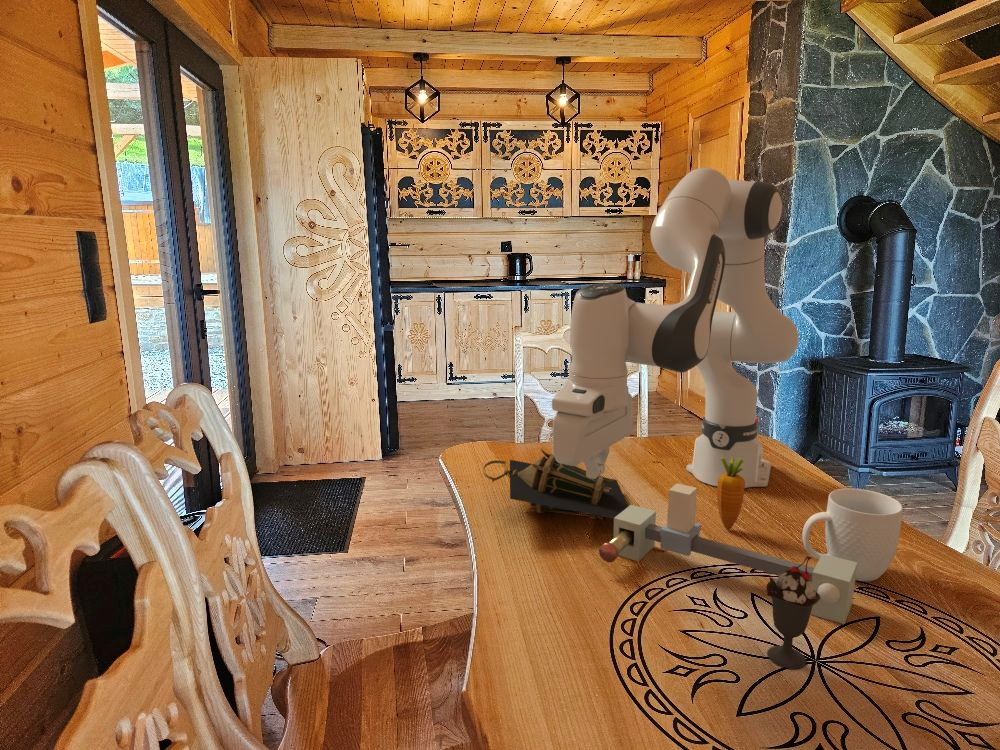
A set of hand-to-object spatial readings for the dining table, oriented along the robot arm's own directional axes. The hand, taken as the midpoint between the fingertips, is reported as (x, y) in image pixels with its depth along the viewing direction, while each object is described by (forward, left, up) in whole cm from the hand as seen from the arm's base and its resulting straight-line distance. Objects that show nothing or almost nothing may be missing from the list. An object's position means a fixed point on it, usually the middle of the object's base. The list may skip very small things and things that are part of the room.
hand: (595, 475), depth 105 cm
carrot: (-34, +12, -20) cm, 41 cm away
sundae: (+1, +30, -20) cm, 36 cm away
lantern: (-21, -20, -20) cm, 36 cm away
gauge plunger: (-10, 0, -17) cm, 20 cm away
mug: (-30, +34, -20) cm, 49 cm away
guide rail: (-16, +17, -20) cm, 30 cm away
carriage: (-16, +9, -16) cm, 24 cm away
